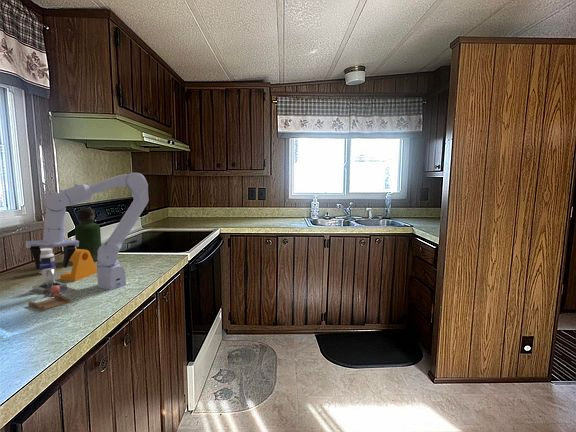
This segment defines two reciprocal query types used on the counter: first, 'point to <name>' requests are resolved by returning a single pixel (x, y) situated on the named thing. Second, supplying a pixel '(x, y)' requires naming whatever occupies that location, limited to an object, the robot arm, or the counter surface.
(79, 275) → the bracket
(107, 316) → the counter surface
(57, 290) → the button
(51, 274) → the steel round bar
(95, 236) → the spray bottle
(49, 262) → the pill bottle
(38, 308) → the brown piece
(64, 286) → the socket block
